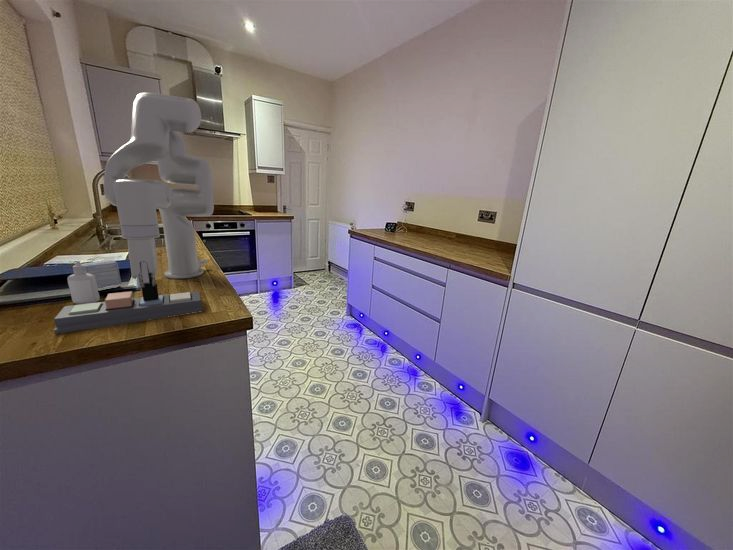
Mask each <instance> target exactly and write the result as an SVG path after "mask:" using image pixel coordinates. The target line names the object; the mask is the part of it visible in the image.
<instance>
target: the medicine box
mask: <svg viewBox="0 0 733 550" xmlns="http://www.w3.org/2000/svg"><path fill="white" fill-rule="evenodd" d="M81 264H82V265H85V268H86V273H89V274H92V275H94V276H95V279H96V283H97V287H98V288H103V287H106V286H111V285H118V284H121V285H122V281H121V275H120V269H119V263H118V262H117V261H115V260H113V259H105V260H99V261H92V262H91V261H90V262H85V263H81Z"/></svg>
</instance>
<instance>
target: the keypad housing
mask: <svg viewBox="0 0 733 550" xmlns="http://www.w3.org/2000/svg"><path fill="white" fill-rule="evenodd" d="M189 292H190V297H191V300H187V301H179V302H171V303H170V294H171V293H170V294H162V295H163V299H164V303H163V304H155V305H147V306H140V301H141V297H133V299H134V300H133V303H132V306H129V307H121V308H113V309H107V308H106V303H105V301H100V302H101V303H102V307H101V309H100V311H99V312H91V313H83V314H75V315H70V312H71V310H72V309H73V308H74V306H75V305H76V304H73V305H66V306H65V305H64V306H63V308H62V309H61V310H60V311H59V312H58V313H57V315H56V316H55V317H54V319H53V321H54V325H55V328H54V329H53V331H54V334H55V335H56V334H62V333H63V334H64V333H70V332H77V330H78V331H82V330H83V331H84V330H89V329H96V328H105V327H109V326H119V325H124V324H132V323H137V321H139V322H144V321H143V320H146V321H150V320H149V319H152V320H158V319H157V318H159V319H163V318H162V317H166V318H169V317H168V316H173V317H175V316H174V315H180V316H182V315H181V314H186V313H192V312H199V311H202V312H203V307H202V301H201V299H202V298H201V294H200V291H197V290H196V291H189ZM186 315H187V314H186Z"/></svg>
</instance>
